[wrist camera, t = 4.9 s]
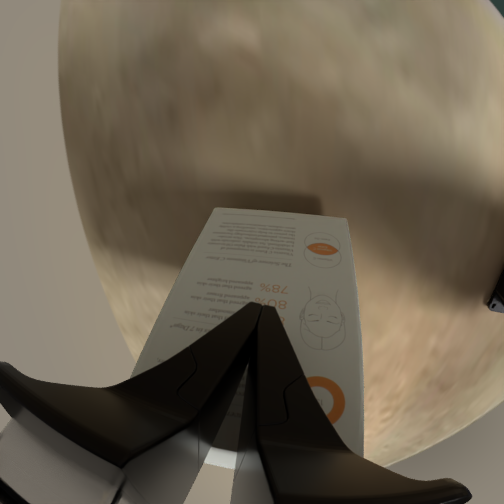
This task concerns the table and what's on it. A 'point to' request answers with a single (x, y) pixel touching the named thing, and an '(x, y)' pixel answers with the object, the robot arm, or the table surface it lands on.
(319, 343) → the small box
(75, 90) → the table surface
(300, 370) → the robot arm
